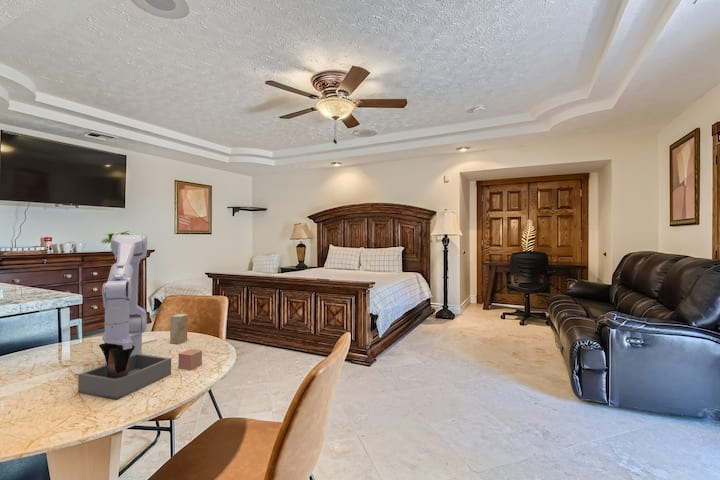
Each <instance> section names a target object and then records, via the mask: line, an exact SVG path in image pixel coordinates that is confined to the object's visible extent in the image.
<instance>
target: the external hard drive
mask: <svg viewBox="0 0 720 480" xmlns="http://www.w3.org/2000/svg"><path fill="white" fill-rule="evenodd" d="M156 342H158V339H157V338H156V337H153V336H149V335H144V336H143V335H142V346H143V345H147V344H151V343H156Z"/></svg>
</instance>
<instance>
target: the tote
mask: <svg viewBox="0 0 720 480" xmlns="http://www.w3.org/2000/svg"><path fill="white" fill-rule="evenodd" d="M107 370H108V367H107V363H105V364H104V365H101V366H98V367H95V368H93V369H90V370H89V369H88V370H87V371H83V372H81V373H78V376H77V377H78V381H77V382H78V383H77V385H78V387H77V391H78V393H81V394H85V395H90V396H95V397H100V398H106V399H112V400H117V401H118V400H120V399H121V398H123V397H126V396H127V395H130V394H132V393H134V392H136V391H139V390H140V389H142V388H145V387H147V386H149V385H151V384H154V383H156V382H157V381H160V380H162V379H164V378H166V377H168V376H170V375H172V358H171V357H164V356H157V355H152V354H151V355H150V354H143V353H142V354H134V355H131V356H130V358H129V369H128V375H127V376H124V377H120V378H108V377H107Z"/></svg>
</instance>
